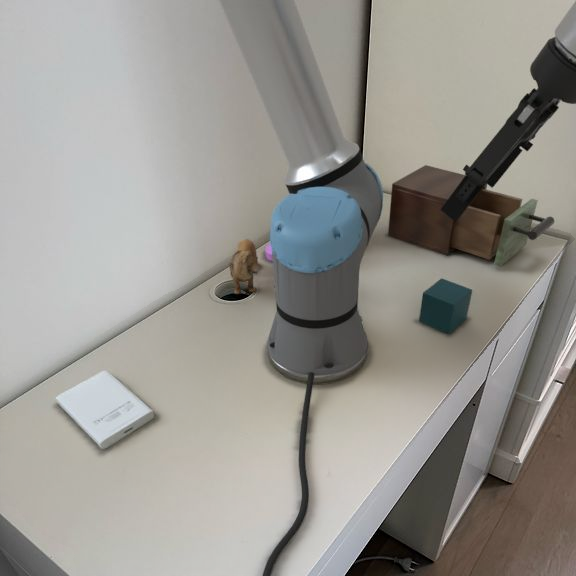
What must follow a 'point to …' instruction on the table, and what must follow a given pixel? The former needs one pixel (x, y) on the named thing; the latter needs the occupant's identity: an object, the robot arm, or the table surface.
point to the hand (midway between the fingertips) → (468, 197)
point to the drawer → (497, 226)
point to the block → (445, 305)
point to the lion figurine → (244, 265)
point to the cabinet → (424, 208)
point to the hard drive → (105, 408)
